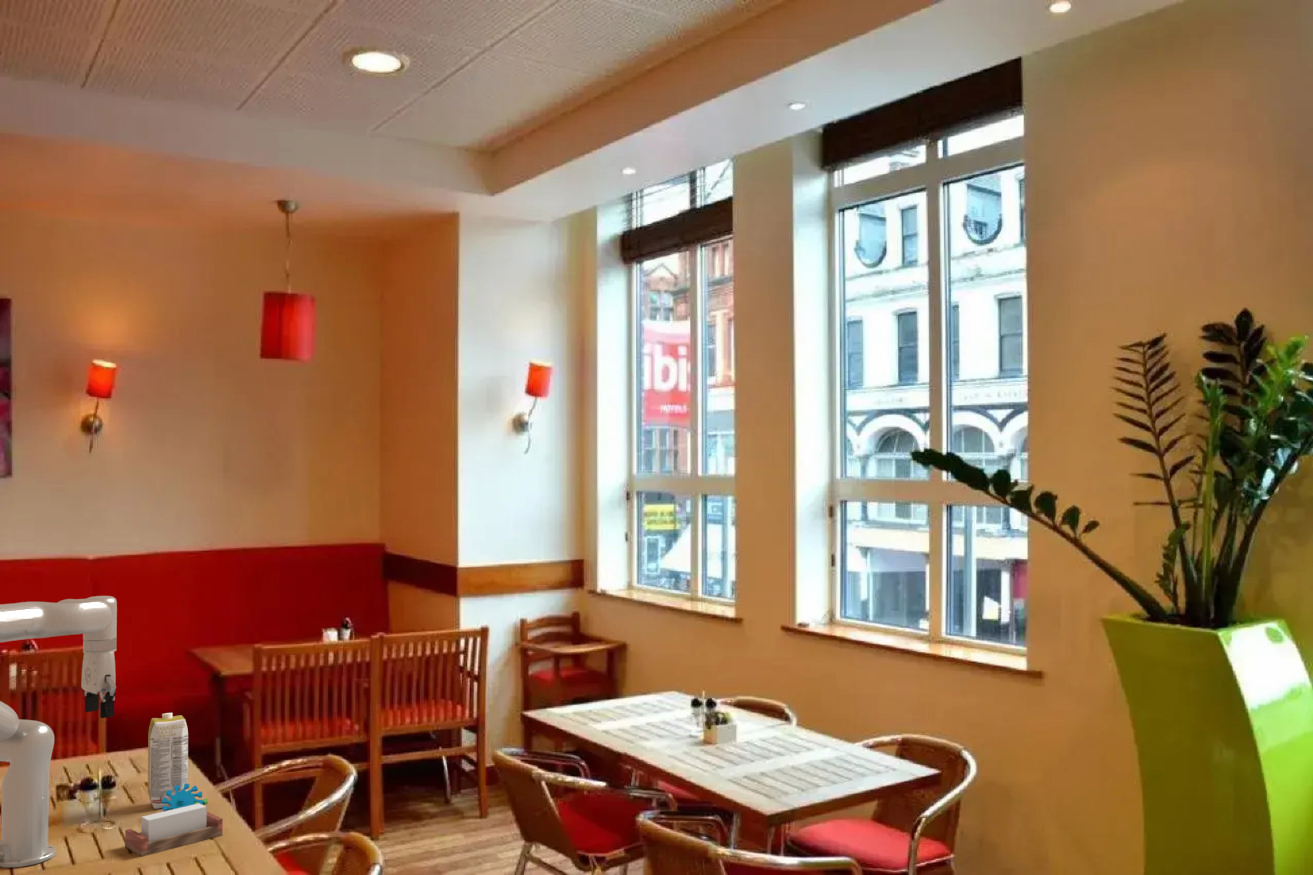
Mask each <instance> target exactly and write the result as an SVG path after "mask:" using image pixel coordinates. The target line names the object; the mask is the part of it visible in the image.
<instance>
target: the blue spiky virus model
mask: <svg viewBox="0 0 1313 875" xmlns="http://www.w3.org/2000/svg"><path fill="white" fill-rule="evenodd" d="M189 788H190V784H189V783H188V784H187V783H185V784H184V788H183V790H182V791H180V792H178V790H179V789H180V785H175V786H174V789H175V791H176V793H175V795H171V794H172V791H171V790H168V791H167V792H166V795H167V796H169V797H170V798H171V801H168V800H167V798H165V797H164V798H163V799H162V803H163V804H169V805H171V806H170V807H167V806H163V808H162V812H164V811H169V810H173V809H177V808H181V807H186V806H190V805H194V804H198V803H200V804H202V805H204V806H207V805H208V804H209V799H208V798H204V799H201V798H203V791H198V788H199V787H197V785H193V786H192V787H191V788H190V789H189ZM186 789H187V791H185V790H186ZM192 792H193V793H192ZM195 792H196V793H195ZM195 797H198V798H199V799H197V798H195Z"/></svg>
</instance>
